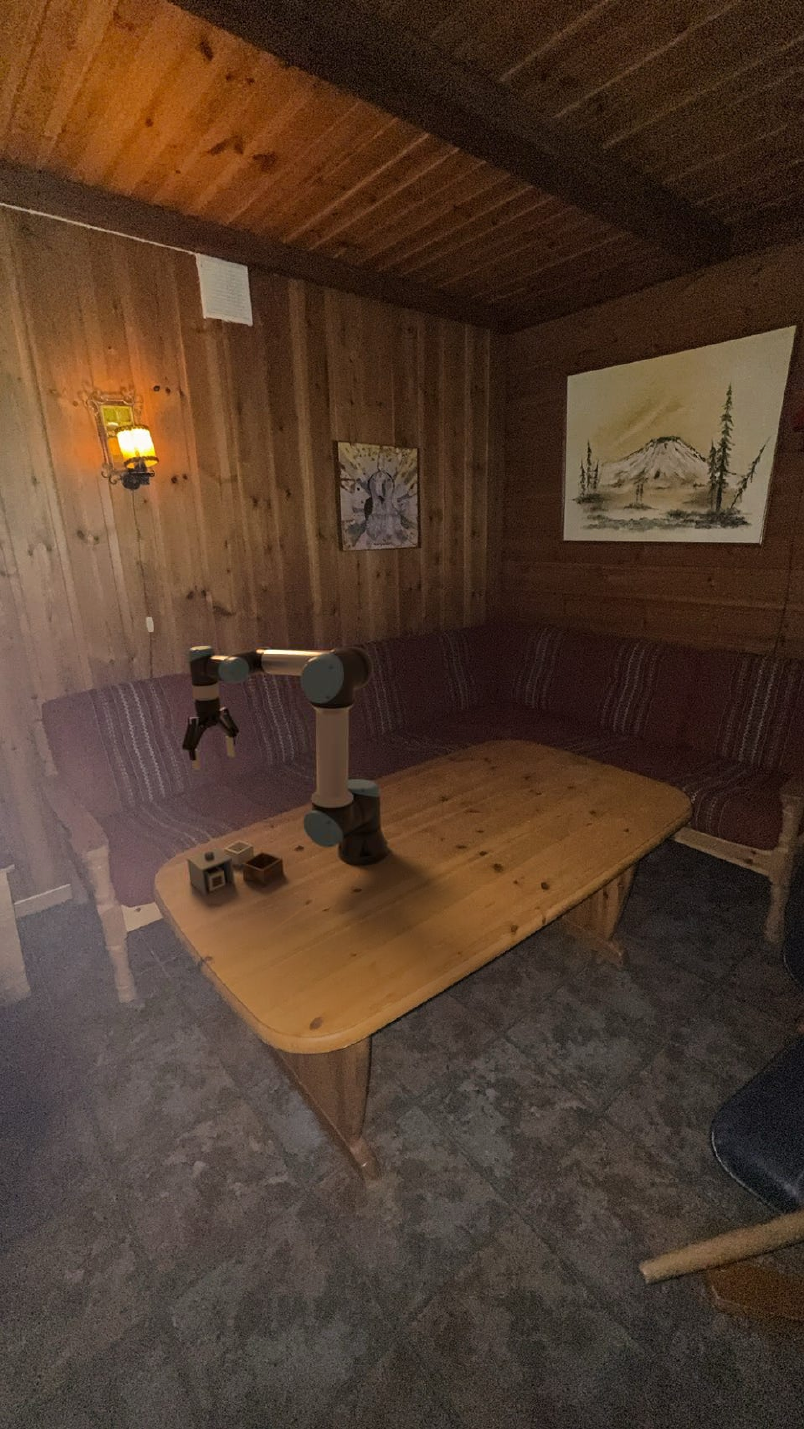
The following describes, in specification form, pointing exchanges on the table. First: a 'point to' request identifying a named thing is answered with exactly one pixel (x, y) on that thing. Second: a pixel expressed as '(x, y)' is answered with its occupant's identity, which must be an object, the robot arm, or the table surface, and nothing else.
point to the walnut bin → (262, 869)
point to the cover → (209, 866)
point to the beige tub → (239, 852)
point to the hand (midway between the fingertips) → (214, 762)
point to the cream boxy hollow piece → (214, 878)
